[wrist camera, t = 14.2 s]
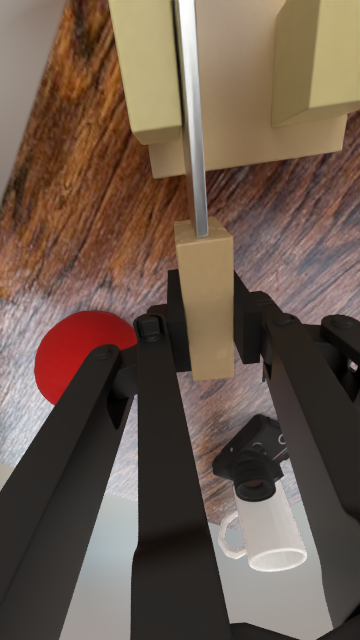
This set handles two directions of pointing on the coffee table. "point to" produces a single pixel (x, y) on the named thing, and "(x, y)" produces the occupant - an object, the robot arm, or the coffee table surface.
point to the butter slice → (148, 67)
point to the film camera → (253, 459)
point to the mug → (266, 533)
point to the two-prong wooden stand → (242, 95)
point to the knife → (201, 225)
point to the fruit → (76, 348)
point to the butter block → (316, 61)
